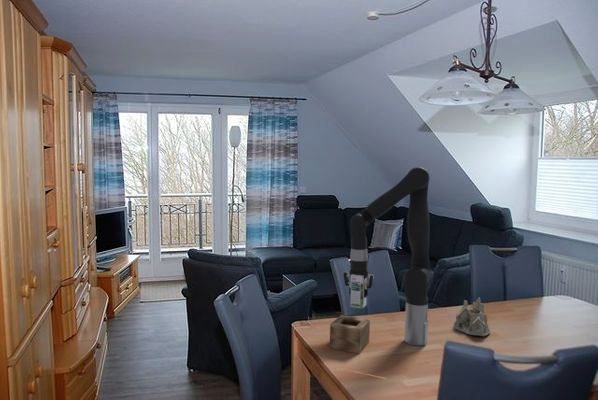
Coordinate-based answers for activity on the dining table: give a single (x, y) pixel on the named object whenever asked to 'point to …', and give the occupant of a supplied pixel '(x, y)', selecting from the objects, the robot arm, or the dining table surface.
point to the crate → (349, 334)
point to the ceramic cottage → (472, 319)
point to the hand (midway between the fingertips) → (358, 296)
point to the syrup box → (357, 291)
